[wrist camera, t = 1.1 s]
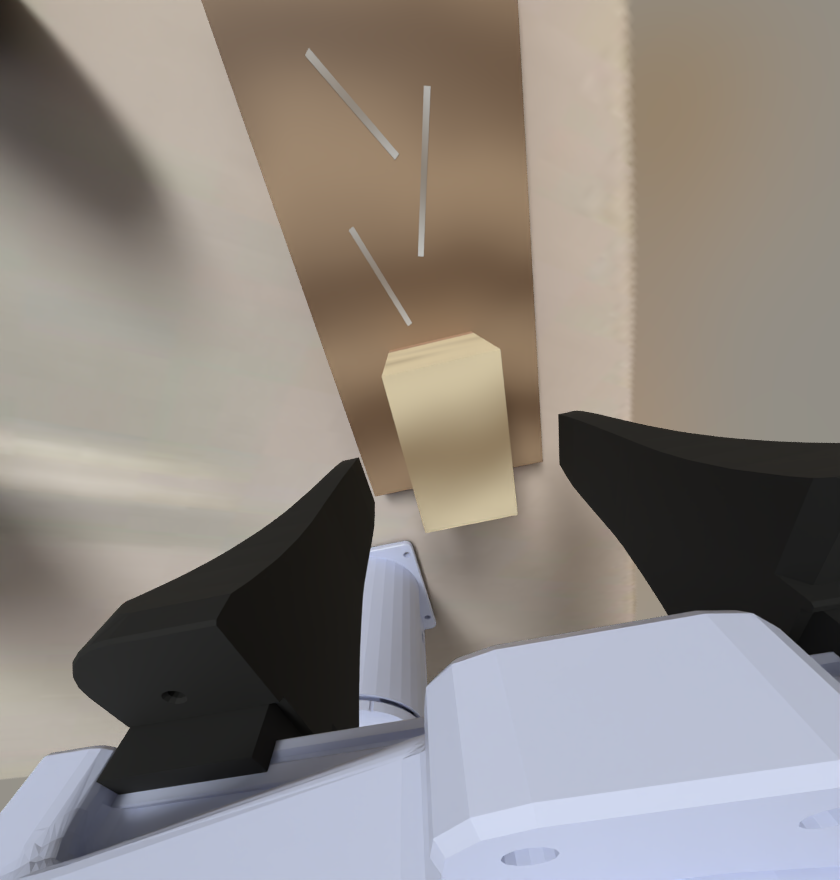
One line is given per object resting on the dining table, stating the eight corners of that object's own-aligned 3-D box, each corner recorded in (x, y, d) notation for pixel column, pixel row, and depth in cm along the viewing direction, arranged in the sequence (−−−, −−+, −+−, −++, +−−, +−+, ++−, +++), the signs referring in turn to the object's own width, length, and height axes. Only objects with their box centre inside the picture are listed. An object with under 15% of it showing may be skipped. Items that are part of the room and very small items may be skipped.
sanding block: (489, 457, 18) (517, 514, 13) (420, 472, 18) (425, 533, 13) (471, 331, 15) (500, 349, 10) (389, 350, 15) (381, 376, 10)
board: (533, 449, 19) (542, 461, 18) (377, 482, 20) (375, 496, 18) (498, -55, 11) (511, -106, 9) (224, 30, 11) (199, -6, 10)
